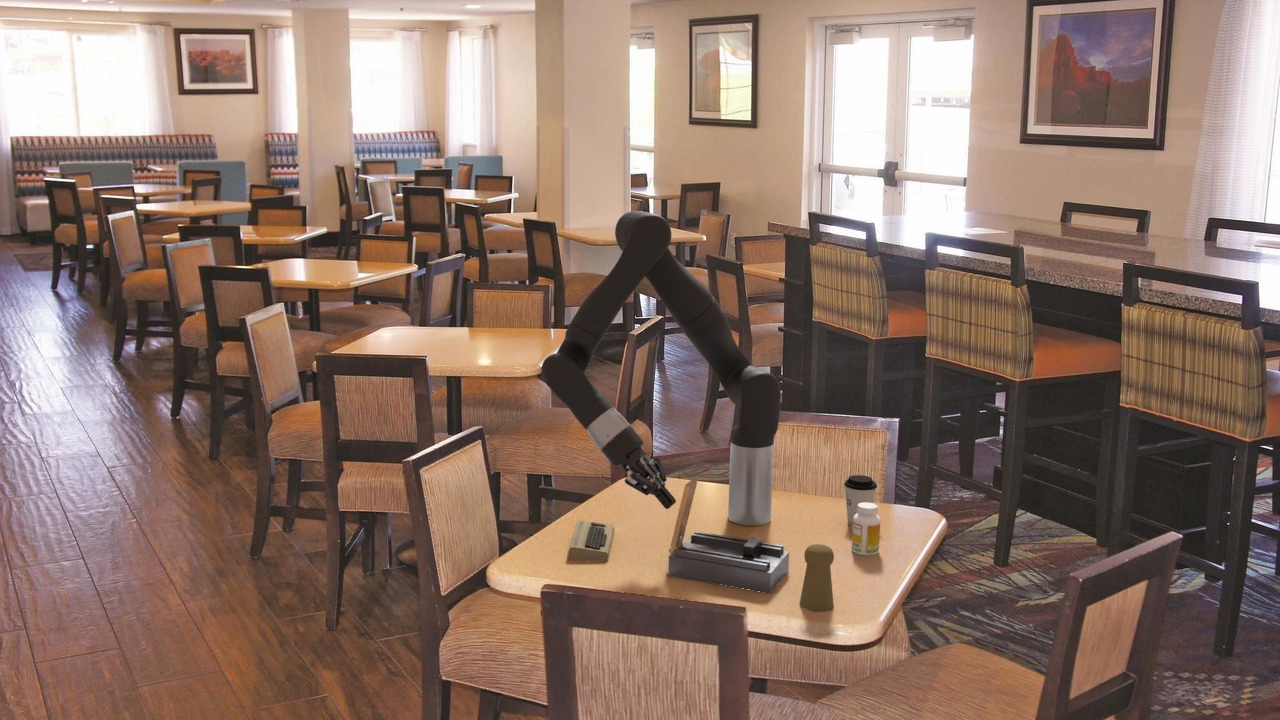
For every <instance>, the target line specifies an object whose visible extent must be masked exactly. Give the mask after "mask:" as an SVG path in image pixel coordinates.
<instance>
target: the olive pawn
mask: <svg viewBox="0 0 1280 720" xmlns="http://www.w3.org/2000/svg"><path fill="white" fill-rule="evenodd" d="M803 553H804V555H803V557H804V561H805V563H806V567H805V568H806V569H805V573H804V577H803V583H802V584H803V585H802V589H801V594H800V598H799V599H800V600H799V606H800V607H801V608H802V609H804V608H805V609H804V610H806V609H807V611H810V612H815V613H816V612H819V613H820V612H828V611H830V610H833V609H834V594H833V593H834V592H833V583H832V571H831V566H832V564H833V563H834V559H835V553H834V551H833V548H831V547H830V546H829V545H825V544H819V543H815V544H811V545H809V546H807V547H806V549H805V550H804V552H803Z"/></svg>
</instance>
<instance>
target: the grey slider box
mask: <svg viewBox="0 0 1280 720" xmlns="http://www.w3.org/2000/svg"><path fill="white" fill-rule="evenodd" d="M784 548H785V545H784V544H776V543H771V542H764V541H763V539H762V538H759V537H750V539H746V538H740V537H733V536H728V535H720V534H716V533H715V534H714V533H708V532H702V531H696V530H695V531H694V532H693V533H692V534H691V535H690V536H689V537H688V538H686V539H685V540H684V541H683V542H682V544H681V545H680V546H678V548H677V549H675V551H673V552H672V553H671V554H670V553H669V555H668V567H667V568H668V570H667V571H668V572H667V573H668V574H667V576H668V577H674V578H680V579H684V580H689V581H690V580H691V581H695V582H701V583H706V582H708V584H712V583H713V585H717V584H722V585H721V586H723V585H727V586H726V587H728V586H733V587H732V588H734V587H738V588H737V589H739V588H744V589H743V590H745V589H750V590H749V591H751V590H754V591H753V592H756V591H760V592H759V593H762V592H765V593H764V594H767V593H770V594H771V593H772V592H773V591H774V590H775V589H776V587H777V586H778V585H779V583H780V582H781V581H782V580H783V579H784V577H786V575H787V574H788V572H789V565H790V551H787V550H785V549H784ZM777 584H778V585H777ZM773 589H774V590H773ZM772 590H773V591H772Z"/></svg>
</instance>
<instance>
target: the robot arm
mask: <svg viewBox="0 0 1280 720" xmlns="http://www.w3.org/2000/svg"><path fill="white" fill-rule="evenodd" d="M614 235H615V236H614V237H615V240H616V243H617V245H618V247H619V249H620V250H621V251H622V253H621V254H620V256H619V258H618V259H617V261H616V263H615V265H614V266H613V267H612V269H611V270H610V272H609V273H608V274H607V275H606V276H605V278H603V280H602V281H601V282H600V283H599V284H598V285H597V286H596V287H595V288H594V289H593V290H592V291H591V292H590V293H589V294H588V295H587V297H585V300H583V302H582V303H581V304H580V306H579V308H578V309H577V311H576V313H575V314H574V316H573V318H572V319H571V321H570V323H569V324H568V326H567V329H566V331H565V334H564V335H565V336H564V339H563V341H562V343H561V345H560V346H559V347H558V350H557V352H555V353H552V354H550V355H549V356H547V357H546V358H545V359H544V360H543V362H542V363H541V370H540V373H541V377H542V380H543V381H544V383H545V384H546V385H547V386H548V388H549V389H550V390H551V391H552V392H553V393H554V394H555V395H556V397H557V398H558V399H559V400H561V402H562V403H563V404H564V405H565V406H566V407H567V408H568V409H569V410H570V412H571V413H572V414H573V416H574V418H575V419H576V420H577V421H578V423H579V424H580V425H581V426H582V428H583V429H584V430H585V431H586V432H587V433H588V435H589V437H590V439H591V440H592V442H593V443H594V444H595V445H596V447H598V449H599V450H600V451H601V453H603V455H604V456H605V457H606V458H607V460H608V461H609V462H610V463H611V464H612V466H614V467H619V466H620V465H621V467H622V469H623V471H624V472H625V473H626V474H627V477H626V478H625V479H624V483H625V484H626V485H627V486H629V487H631V488H633V489H635V490H636V491H638V492H639V493H641V494H643V495H645V496H648V495H651V496H654V497H655V498H656V499H657V500H658V502H659V503H660V504H661V505H662V506H663V508H664V509H665V510H669V509H670V508H672V506H674V504H676V503H677V500H676V498H675V497H674V495H672V493H671V492H670V491H669V490H668V488H667V487H666V483H665V482H667V480H668V479H667V476H666V473H665V470H664V468H663V465H662V462H661V459H660V457H658V456H656V457H654V458H652V457H650V456H649V454H648V453H647V452H646V451H644V449H642V446H643V445H644V444H645V441H644V440H643V439H642V437H641V436H640V435H639V434H638V433H637V432H636V430H635V429H634V428H633V427H632V425H631V424H630V423H629V422H628V420H627V419H626V418H625V417H624V416H623V415H622V414H621V413H620V412H619V411H618V410H617V409H616V408H615V407H614V406H613V405H612V403H611V402H610V401H609V400H608V399H607V397H606V396H605V395H604V394H603V393H602V391H600V390H599V389H598V388H597V387H596V386H595V385H593V383H591V381H590V380H589V379H588V377H587V376H586V375H585V372H586V370H587V368H588V366H589V363H591V362H590V361H591V359H592V357H593V354H594V352H595V350H597V348H598V346H599V345H600V343H601V341H602V340H603V339H604V337H605V335H606V334H607V332H608V330H609V329H610V327H611V325H612V323H613V322H614V320H615V318H616V317H617V315H618V314H619V313H620V311H621V309H622V308H623V306H624V305H625V303H626V302H627V301H628V299H629V298H630V296H631V295H632V294H633V292H634V291H635V289H637V287H638V286H639V284H640V283H641V282H642V281H643V279H644V278H646V279H647V281H648V282H649V283H650V285H651V286H652V288H653V289H654V291H655V293H656V294H657V296H658V297H659V299H660V300H661V302H662V304H663V305H664V306H665V308H666V310H667V311H668V312H669V313H670V315H671V317H672V318H673V320H674V321H675V322H676V324H677V325H678V327H679V328H680V329H681V331H682V332H683V333H684V335H685V337H687V339H688V340H689V341H690V342H691V344H692V345H693V346H694V347H695V349H696V350H697V351H698V352H699V354H700V355H701V356H702V358H703V359H704V360H705V361H706V362H707V363H708V364H709V366H710V368H711V369H712V370H713V372H714V374H715V375H716V377H717V379H718V381H719V383H720V384H721V386H722V388H723V390H724V392H725V393H726V395H727V396H728V398H729V400H730V401H731V402H732V403H733V404H735V406H737V407H738V408H740V412H739V413H740V414H739V421H738V425H735V426H733V428H731V431H730V453H729V482H728V507H727V508H728V509H727V510H728V511H727V512H728V513H727V519H728V520H729V521H730V522H732V523H734V524H737V525H740V526H753V527H755V526H763V525H766V524H768V523H770V522H771V520H772V519H771V518H772V500H773V499H772V497H773V474H774V448H775V445H774V444H775V436H776V434H777V432H778V429H779V423H780V411H781V402H782V401H781V399H782V398H781V397H782V393H781V392H782V391H781V385H780V383H779V380H778V378H777V377H776V376H775V375H773V374H772V373H770V372H768V371H766V370H764V369H761V368H759V367H757V366H756V365H754V364H753V363H752V361H750V360H749V358H748V357H747V356H746V355H745V354H744V353H743V351H742V350H741V349H740V347H739V345H738V344H737V342H736V340H735V339H734V336H733V332H732V329H731V326H730V322H729V320H728V318H727V315H726V314H725V312H724V310H723V309H722V307H721V306H720V304H719V303H718V301H717V300H716V298H715V297H714V296H713V294H712V293H711V292H710V290H709V289H708V288H707V287H706V286H705V285H704V284H703V282H701V281H700V279H698V278H697V277H696V276H695V275H694V274H693V273H692V272H691V271H689V270H688V269H687V268H686V267H684V265H682V264H681V263H680V262H679V261H678V259H677V258H676V257H675V256H674V254H673V253H672V251H671V250H670V248H669V247H670V244H671V242H672V229H671V227H670V224H669V222H668V221H667V220H666V219H665V218H664V217H662V216H661V215H658V214H656V213H653V212H648V211H642V210H633V211H629V212H626V213H624V214H623V215H621V217H620V218H619V219H618V220H617V222H616V225H615V229H614Z"/></svg>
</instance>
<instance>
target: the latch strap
mask: <svg viewBox="0 0 1280 720" xmlns="http://www.w3.org/2000/svg"><path fill="white" fill-rule="evenodd" d="M697 483H698V480H696V479H695V478H694V479H690V481H687V483H685V484H684V489H683V493H682V496H681V501H680V506H679V509H678V513H677V516H676V522H675V526H674V530H673V534H672V538H671V542H670V548H669V550H668V553H669V555H670V554H671V553H672V552H673V551H675V549H677V548H678V546H680V545H681V544H682V543H684V538H685V533H686V530H687V526H688V520H689V516H690V513H691V508H692V505H693V500H694V496H695V493H696V489H697Z"/></svg>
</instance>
